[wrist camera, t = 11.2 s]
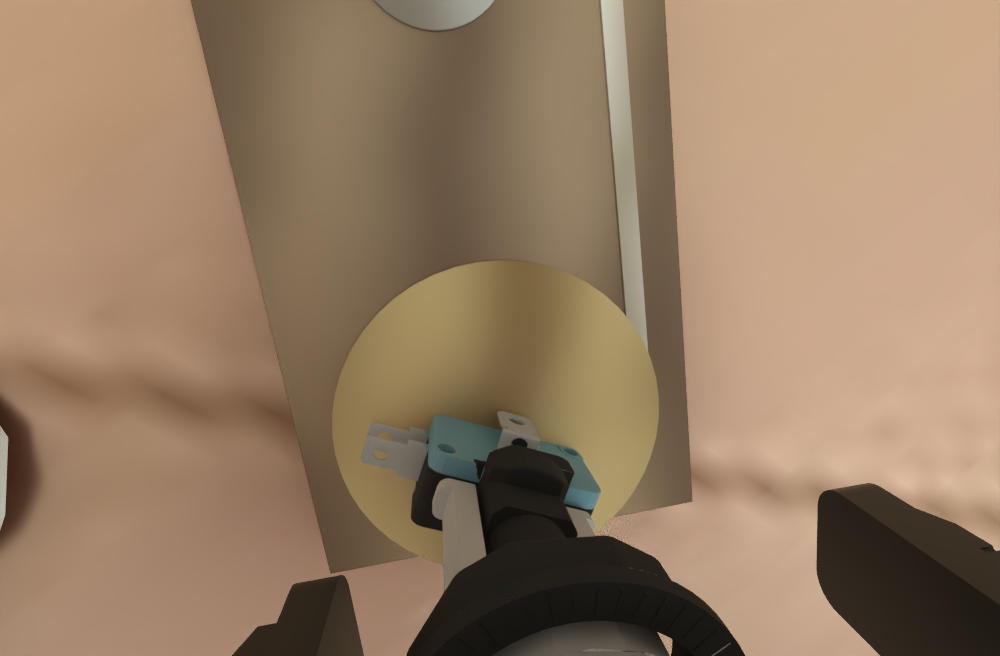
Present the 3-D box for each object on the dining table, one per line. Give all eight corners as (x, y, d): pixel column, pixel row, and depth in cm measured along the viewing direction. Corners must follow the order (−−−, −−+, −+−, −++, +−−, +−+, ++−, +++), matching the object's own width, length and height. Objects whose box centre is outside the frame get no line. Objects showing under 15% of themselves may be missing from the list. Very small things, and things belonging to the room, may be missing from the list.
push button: (346, 503, 16) (202, 976, 6) (396, 339, 15) (325, 577, 5) (549, 549, 17) (708, 1004, 7) (607, 400, 16) (877, 687, 6)
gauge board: (630, -171, 14) (1123, -1140, 4) (673, 503, 19) (951, 835, 9) (178, -138, 13) (-701, -1354, 3) (345, 569, 18) (228, 1035, 8)
